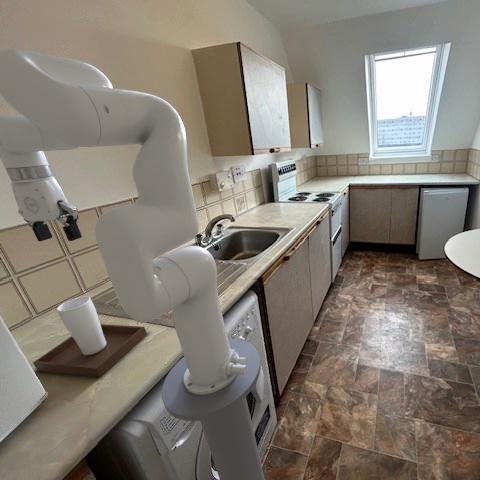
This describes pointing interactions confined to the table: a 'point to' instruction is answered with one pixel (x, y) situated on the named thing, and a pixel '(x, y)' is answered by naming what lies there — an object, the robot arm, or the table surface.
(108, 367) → the tray
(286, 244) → the table surface
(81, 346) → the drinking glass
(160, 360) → the table surface
